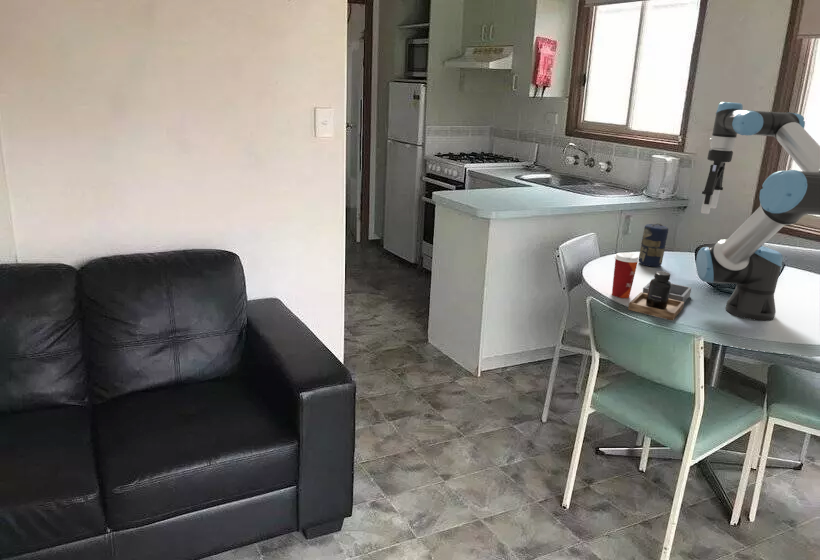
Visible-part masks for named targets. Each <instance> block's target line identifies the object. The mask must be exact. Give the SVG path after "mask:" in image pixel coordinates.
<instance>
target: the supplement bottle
mask: <svg viewBox="0 0 820 560" xmlns="http://www.w3.org/2000/svg"><path fill="white" fill-rule="evenodd" d="M653 277H654V278H652V279H651V280H650V281H649V283H650V285H649V290H648V295H647V300H646V305H647V306H649V307H653V308H657V309H661V310H662V309H666V308H667V304H668V299H669V295H670V290H671V283H672V282H671V281H670V280H671V273H670V272H667V271H665V270H664V271H663V270H657V271H655V272H654V276H653Z"/></svg>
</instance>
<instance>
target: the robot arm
mask: <svg viewBox="0 0 820 560" xmlns="http://www.w3.org/2000/svg"><path fill="white" fill-rule="evenodd" d="M743 107H744V106H743V103H741V102H732V101H731V102H729V101H728V102H727V101H721V102H720V103H719V104H718V106H717V110H716V112H715V117H714V123H713V129H712V133H711V137H710V138H709V140H708V141H709V142H710V144H709V147H710V149H709V150H708V153H707V160H708V161H711V162H713V163H712V164H710V168H709V173H708V174H707V175H708V176H707V180H706V183H705V187H704V189H703V191H702V193H701V194H702V195H703V197H702V198H703V199H702V203H701V209H700V214H704V215H710V212H711V209H715V210H716V209H717V207H718V204H719V198H720V193H721V191H723V190H724V187H723V182H724V181H723V180H724V173H725V167H726V163H730V162H732V159H733V154H734V152H733V150H734V149H735V146H736V141H737V135H741V136H746V137H747V136H764V137H774V139H776V141H777V142H778V143H779V145H780V146H781V147H782V148H783V150H784V151H786V152H785V153H787V154H788V155H789V156H790V157H791V159H792V160H793V161H794V163H795V164H796V165H797V166H798V167H799V168H800V170H796V169H789V170H778V171H775V172H773V173H771V174H769V175H768V177H767V178H766V179H765V180H764V182H763V183H762V188H761V189H760V191H759V206H758V208H757V209H756V210H755V211H754V212H753V213H752V214H751V215H750V216H749V217H748V218H746V220H745V221H744V222H743V223H742V224H741V225H739V226H738V228H737V229H736V230H735V231H734V232H733V233H732V234H730V236H729V237H728V238H724V239H720V240H718V241H717V242H716V243H715V244H714V245H713V246H712V247H709V246H705V247H704V246H703V247H701V248H700V249H699V250H698V252H697V255H696V259H695V260H696V261H695V267H696V273H697V276H698V278H699V279H700V281H702V282H704V283H711V284H734V285H736V286H735V288H734V290H733V292H732V294H731V295H730V296H729V298H728V299H727V301H726V304H725V310H726V312H728V313H730V314H732V315H734V316H736V317H739V318H743V319H745V320H746V319H747V320H750V321H758V322H760V321H761V322H763V321H764V322H766V321H767V322H769V321H773V320H774V319H775V318H776V312H777V311H776V303H775V291H776V288H777V285H778V281H779V278H780V277H779V276H780V272H781V268H782V267H783V266H782V265H783V258H784V257H783V254H782V253H781V252H780V251H778V250H775V249H773V248H770V247H766V246H764V245H765V243H766V244H767V242H768V241H769V240H770V239H772V238H773V236H775V235H776V233H778V232H779V231H780V230H781V229H782V228H783V227H785V226H789V225H790V226H791V225H794V224H796V223H797V222H798V221H799V220H801V219H802V218H803V217H805V216H806V215H810V216H811V215H812V216H813V215H814V216H816V215H817V216H820V145H819V143H818V142H817V141H816V140H815V139H814V138H813V137H812V136H811V135H810V134H809V132H808V131H807V130H806V129H805V127H806V125H805V124H806V121H805V117H804V116H803V115H802V114H800V113H795V112H788V111H787V112H785V111H784V112H782V111H765V110H764V111H762V110H749V109H748V110H747V109H743Z"/></svg>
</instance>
